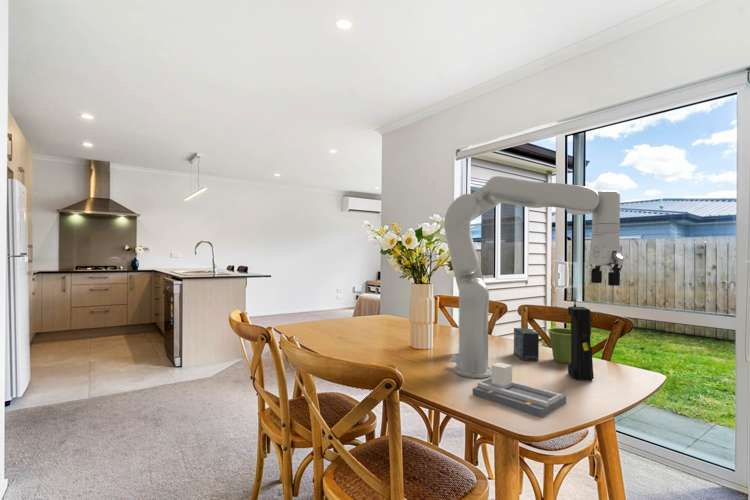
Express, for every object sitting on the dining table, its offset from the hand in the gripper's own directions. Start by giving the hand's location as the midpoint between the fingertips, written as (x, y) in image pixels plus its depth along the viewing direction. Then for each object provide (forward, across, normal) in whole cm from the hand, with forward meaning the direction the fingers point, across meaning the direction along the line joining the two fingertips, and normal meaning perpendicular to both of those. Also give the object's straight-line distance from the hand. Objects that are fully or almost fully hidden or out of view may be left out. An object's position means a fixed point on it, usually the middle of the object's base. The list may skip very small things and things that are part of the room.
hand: (604, 284), depth 124 cm
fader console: (+31, +16, -32) cm, 48 cm away
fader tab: (+29, +13, -36) cm, 48 cm away
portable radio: (+31, -3, -5) cm, 32 cm away
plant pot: (+31, -23, -2) cm, 38 cm away
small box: (+31, -28, -14) cm, 44 cm away
